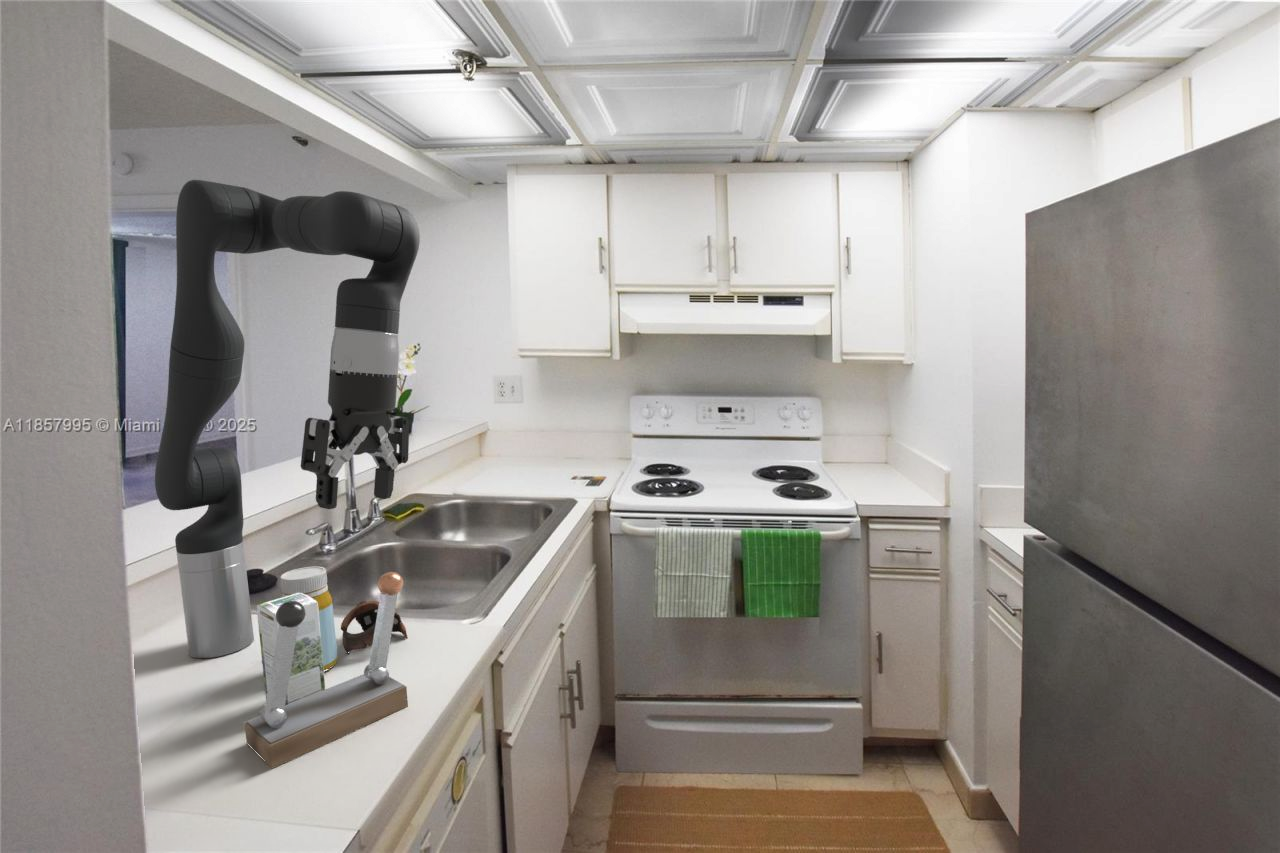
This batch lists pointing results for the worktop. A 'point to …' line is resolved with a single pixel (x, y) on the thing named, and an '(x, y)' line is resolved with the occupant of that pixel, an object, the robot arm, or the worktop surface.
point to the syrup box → (307, 647)
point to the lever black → (282, 662)
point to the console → (325, 718)
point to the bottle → (315, 586)
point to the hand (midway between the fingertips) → (355, 502)
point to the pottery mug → (366, 626)
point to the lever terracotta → (383, 627)
